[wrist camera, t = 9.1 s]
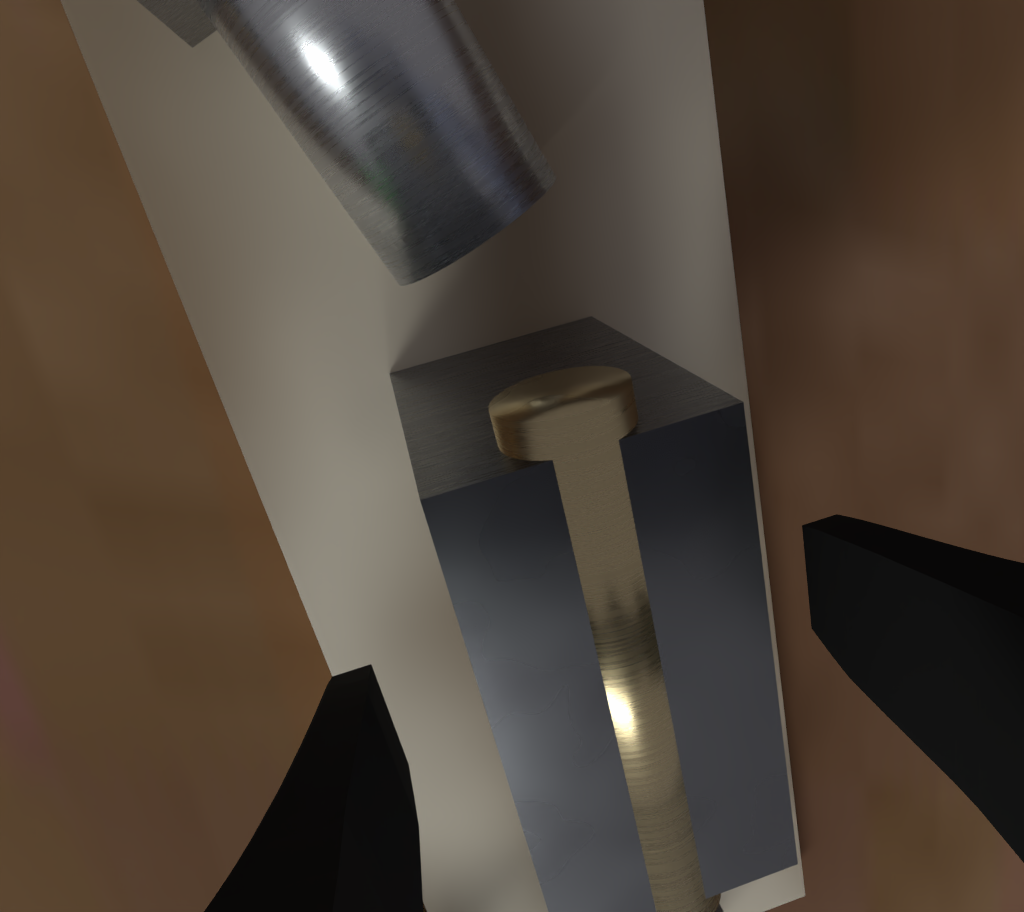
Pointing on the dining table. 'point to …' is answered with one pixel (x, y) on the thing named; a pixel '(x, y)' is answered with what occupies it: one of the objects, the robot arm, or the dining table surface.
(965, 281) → the dining table surface
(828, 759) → the dining table surface
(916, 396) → the dining table surface
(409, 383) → the grey slotted block
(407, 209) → the angled shaft
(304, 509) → the board
